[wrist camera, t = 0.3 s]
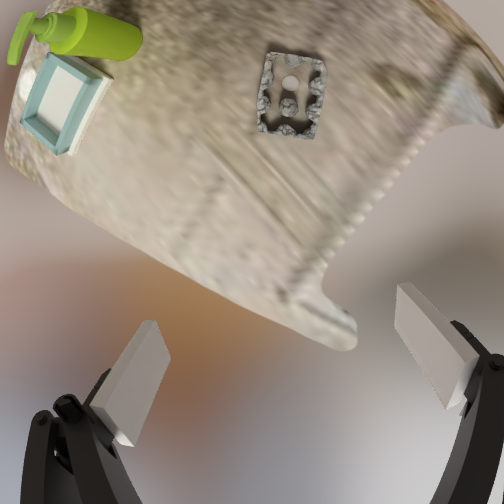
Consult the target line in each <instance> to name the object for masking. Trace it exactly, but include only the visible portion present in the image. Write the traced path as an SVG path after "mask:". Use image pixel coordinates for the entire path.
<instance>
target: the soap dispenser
mask: <svg viewBox="0 0 504 504" xmlns="http://www.w3.org/2000/svg"><path fill="white" fill-rule="evenodd" d="M37 13H38V12H35V11H32V12H24V13H23V15H22V17H21V19H20V21H19V23H18V25H17V28H16V30H15V32H14V35H13V37H12V40H11V43H10V47H9V52H8V59H7V64H11V65H16V64H17V63H18V62H19V61H20V56H21V51H22V48H23V44H24V42H25V39H26V37H27V34H35V38H36V40H37V41H38V42H43V43H49V46H50V49H51V51H52V52H53V53H55V54H60V55H75V56H86V57H95V58H103V59H110V60H116V61H123V60H126V59H129V58H130V57H132V56H133V55H134V54H135V53H136V52H137V51H138V49H139V48H140V46H141V43H142V33H141V31H140V29H139V28H138V27H136V26H134V25H131V24H129V23H126V22H124V21H121V20H118V19H116V18H113V17H110V16H108V15H105V14H102V13H99V12H96V11H93V10H90V9H86V8H83V7H73V8H71V9H69V10H67V11H66V12H64V13H63V14H61V13H55V12H51V13H48V14H47V15H45V16H44V17H43V18H35V17H36V15H37Z"/></svg>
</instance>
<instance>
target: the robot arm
mask: <svg viewBox="0 0 504 504" xmlns="http://www.w3.org/2000/svg"><path fill="white" fill-rule="evenodd" d="M394 328H395V329H396V331H397V332H398V334H399V335H400V337H401V338H402V339H403V341H404V343H405V344H406V346H407V347H408V348H409V350H410V352H411V353H412V355H413V356H414V358H415V359H416V361H417V363H418V364H419V366H420V367H421V369H422V371H423V372H424V374H425V376H426V377H427V379H428V381H429V382H430V384H431V385H432V387H433V389H434V391H435V392H436V394H437V396H438V397H439V399H440V401H441V403H442V404H443V406H444V408H445V410H446V409H449V408H451V407H453V406H455V405H457V404H459V403H460V401H461V399H462V397H463V395H465V397H466V398H467V402H466V404H465V405H464V408H463V409H462V411H461V413H460V415H461V416H462V419H461V423H460V427H459V430H458V434H457V437H456V440H455V443H454V446H453V449H452V452H451V455H450V458H449V461H448V463H447V466H446V468H445V471H444V473H443V476H442V478H441V481H440V483H439V485H438V488H437V490H436V492H435V494H434V496H433V498H432V500H431V502H430V504H487V502H488V499H489V496H490V494H491V491H492V487H493V484H494V481H495V477H496V473H497V470H498V466H499V461H500V457H501V453H502V448H503V443H504V356H503V355H500V354H490V353H489V352H488V351H487V349H486V348H485V347H484V346H483V345H482V344H481V343H480V342H479V341H478V340H477V338H476V337H474V335H473V334H472V333H471V332H469V330H468V329H467V328H466V327H465V326H464V325H463V324H461V323H459V322H457V321H455V320H454V321H451V322H449V321H448V320H447V319H446V318H445V317H444V316H443V315H442V314H441V313H440V312H439V311H438V310H437V309H436V308H435V307H434V305H432V303H431V302H429V300H428V299H427V298H425V296H424V295H423V294H421V293H420V292H419V291H418V290H417V289H416V288H415V287H414V286H413V285H412V284H411V283H410V282H406V283H402V284H398V285H397V299H396V312H395V323H394ZM170 360H171V357H170V354H169V352H168V350H167V347H166V345H165V343H164V340H163V338H162V335H161V333H160V330H159V328H158V325H157V323H156V320H148V321H143V323H142V324H141V326H140V327H139V329H138V330H137V332H136V333H135V335H134V336H133V338H132V339H131V341H130V342H129V344H128V345H127V347H126V348H125V350H124V351H123V353H122V354H121V356H120V357H119V359H118V360H117V362H116V363H115V365H114V366H113V368H112V369H108V370H107V371H106V372H105V373H103V374H102V375H101V377H100V379H99V380H98V383H96V385H95V386H94V389H92V391H91V392H90V394H89V395H88V397H87V399H86V400H85V402H84V403H83V405H81V404H80V402H79V401H78V399H77V398H76V397H75V396H74V395H73V394H66V395H63V396H61V397H59V398H58V399H57V400H56V401H55V403H54V405H53V409H54V411H55V412H56V413H57V415H58V416H59V417H56V418H55V417H54V416H53V415H52V414H51V412H50V411H48V410H42V411H39V412H38V413H36V415H35V416H34V417H33V419H32V422H31V427H30V431H29V436H28V442H27V447H26V452H25V459H24V466H23V475H22V484H21V497H20V504H142V502H141V500H140V498H139V497H138V495H137V493H136V491H135V489H134V487H133V485H132V483H131V481H130V479H129V477H128V475H127V473H126V470H125V469H124V466H123V464H122V461H121V459H120V457H119V454H118V452H117V450H116V447H115V446H114V444H113V443H112V441H113V439H114V437H115V438H116V439H117V441H118V442H119V443H120V444H123V445H128V446H133V447H134V446H135V444H136V441H137V439H138V436H139V434H140V431H141V429H142V426H143V424H144V422H145V419H146V417H147V414H148V411H149V409H150V407H151V404H152V402H153V400H154V397H155V395H156V392H157V389H158V388H159V385H160V383H161V381H162V378H163V376H164V373H165V371H166V369H167V366H168V364H169V362H170ZM462 414H463V415H462ZM54 450H55V451H56V452H57V454H56V456H55V455H54ZM502 504H504V493H503V502H502Z"/></svg>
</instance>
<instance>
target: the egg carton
mask: <svg viewBox="0 0 504 504" xmlns="http://www.w3.org/2000/svg"><path fill="white" fill-rule="evenodd" d="M277 57H279V58H284V59H285V62H286V64H287V65H288V66H290V67H299V66H300V65H301V64H302V63H303V61H306V62H310V63H311V65H312V67H313V69H314V70H316V71H318V72H319V73H320V74H319V77H317V78H315V79H313V80H312V81H311V82H310V83H309V91H310V92H311V93H312V94H313V95H315V96H316V97H317V98H316V103H313V104H310V105H308V106H307V107H306V111H305V113H306V116H307V117H308V118H309V119H310V120H312V121H313V124H312V125H311V127H310V128H308V129H306V130H304V132H303V133H301V134H296V131H295V130H294V129H293V128H292V127H291V126H290V125H288V124H282V125H280V126H278V128H277V130H276V131H269V130H268V127H267V125H266V124H265V123H264V122H262V121H261V114H263V113H265V112H267V111H268V110H269V109H270V106H271V102H270V100H269V99H268V98H267V97H266V96H264V90H265V89H266V88H268V87H270V86H271V85H272V84H273V78H274V75H273V73H272V72H271V66H272V63H273V62H274V61H275V60H276V58H277ZM326 82H327V69H326V67H325V65H324V63H323V61H321V60H317V59H312V58H307V57H302V56H297V55H292V54H283V53H277V52H268V53H267V56H266V61H265V65H264V70H263V75H262V79H261V85H260V90H259V94H258V100H257V116H258V131H259V132H264V133H270V134H278V135H283V136H290V137H296V138H301V139H312V140H313V139H314V137H315V133H316V130H317V126H318V120H319V117H320V112H321V108H322V103H323V98H324V92H325V88H326ZM282 86H283V87H284V89H285V90H287V91H295V90H297V89H298V88H299V86H300V81H299V79H298V78H297V77H296V76H294V75H288V76H285V77H284V78H283V80H282ZM279 111H280V113H281V114H282V115H284V116H286V117H292V116H294V115H296V113H297V112H298V105H297V103H296V101H295V100H293V99H289V98H285V99H282V100H281V103H280V104H279Z"/></svg>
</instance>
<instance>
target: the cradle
mask: <svg viewBox="0 0 504 504" xmlns="http://www.w3.org/2000/svg"><path fill="white" fill-rule="evenodd" d="M113 80H114V79H112V78H111V77H109V76H108V75H106V74H104V73H103V72H101V71H100V70H98V69H96V68H95V67H93V66H92V65H90V64H88V63H87V62H85V61H83V60H82V59H80V58H78V57H77V56H75V55H60V54H55V53H53V52H48V53H47V55H46V57H45V59H44V62H43V64H42V66H41V68H40V70H39V72H38V75H37V77H36V79H35V82H34V84H33V86H32V89H31V91H30V94H29V97H28V99H27V102H26V105H25V108H24V110H23V113H22V116H21V120H20V123H21V124H22V125H23V126H24V127H25V128H26V129H27V130H28V131H30V132H31V133H32V134H33V135H34V136H35V137H36V138H37V139H38V140H40V141H41V142H42V143H43V144H44V145H45V146H46V147H48V148H49V149H50V150H51V151H52V152H53V153H54V154H56V155H60V154H62V153H65V152H66V153H67V154H69V155H70V156H71V157H72V156H74V155H76V153H77V151H78V148H79V146H80V144H81V141H82V139H83V137H84V135H85V132H86V130H87V128H88V126H89V124H90V122H91V120H92V118H93V116H94V114H95V112H96V110H97V108H98V106H99V104H100V102H101V101H102V99H103V97H104V95H105V93H106V92H107V90H108V88H109V86H110V85H111V83H112V81H113Z"/></svg>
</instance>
